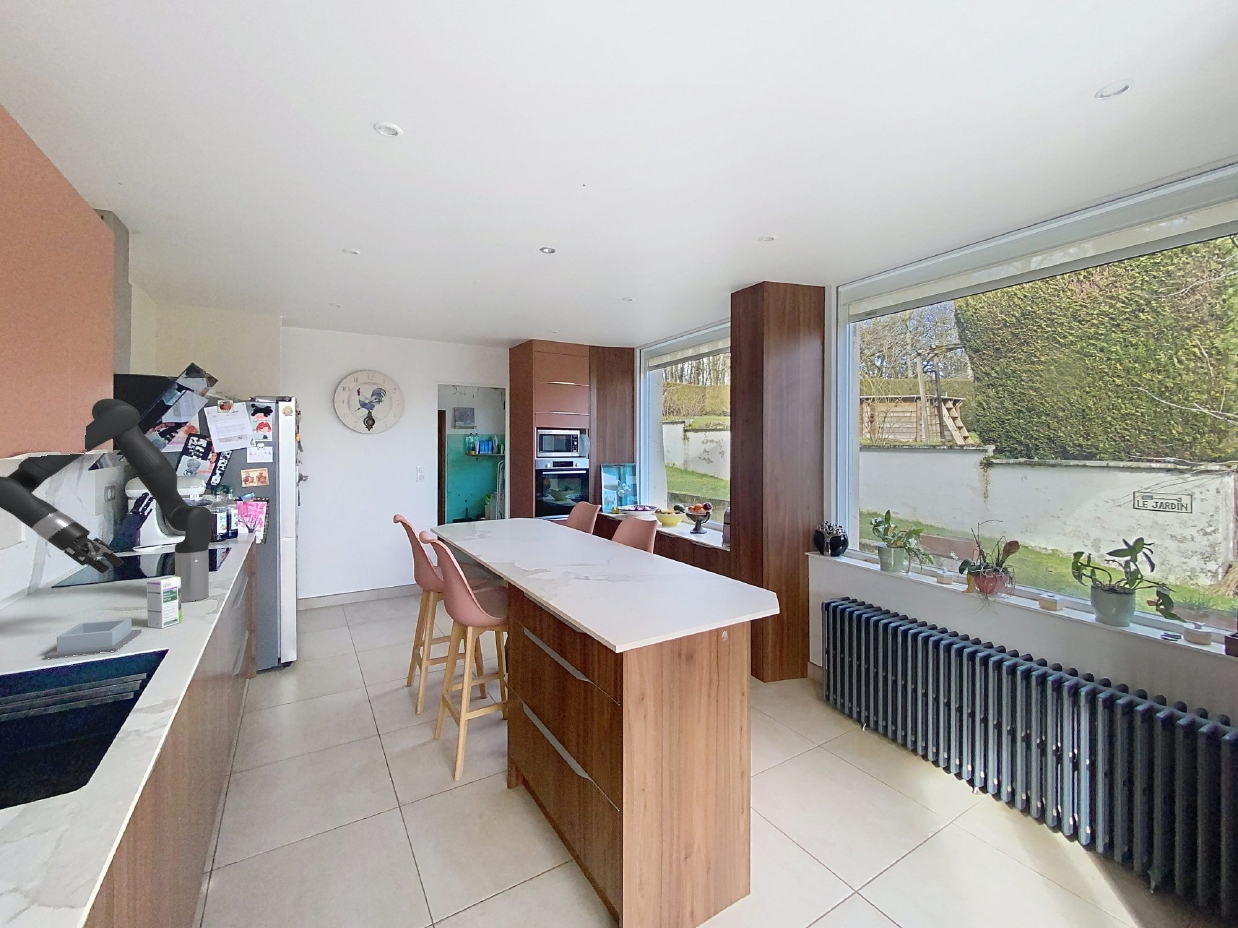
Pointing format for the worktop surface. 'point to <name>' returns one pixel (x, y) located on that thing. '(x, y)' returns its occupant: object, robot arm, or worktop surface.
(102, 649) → the holder
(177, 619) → the syrup box
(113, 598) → the worktop surface
